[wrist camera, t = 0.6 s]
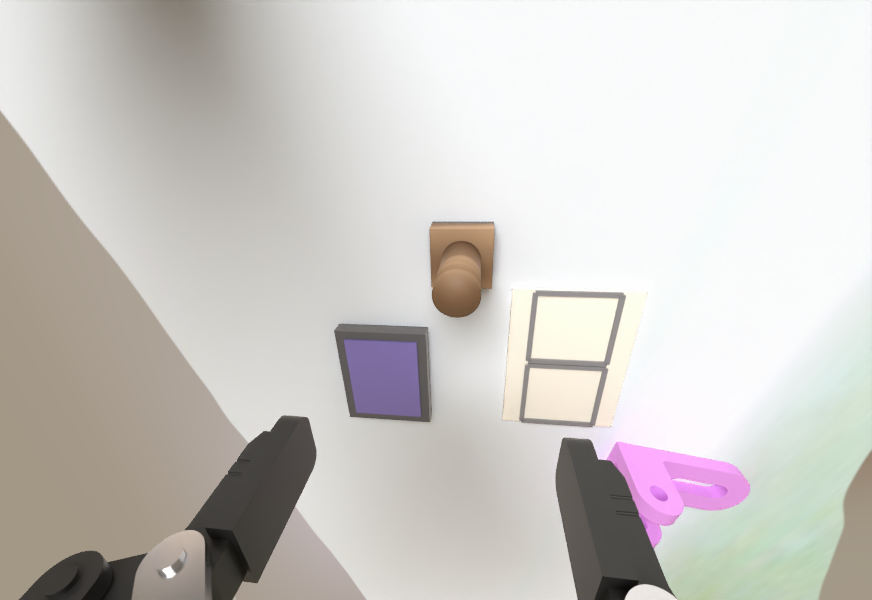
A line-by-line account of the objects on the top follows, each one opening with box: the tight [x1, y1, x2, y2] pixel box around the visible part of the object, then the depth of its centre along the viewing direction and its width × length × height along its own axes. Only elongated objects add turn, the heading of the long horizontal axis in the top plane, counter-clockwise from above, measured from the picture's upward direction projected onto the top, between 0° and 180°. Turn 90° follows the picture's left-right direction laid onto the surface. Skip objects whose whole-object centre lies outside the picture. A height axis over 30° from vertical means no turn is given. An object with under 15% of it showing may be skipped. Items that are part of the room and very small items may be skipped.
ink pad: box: [334, 324, 431, 422], centre depth 33 cm, size 10×8×1 cm
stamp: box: [430, 222, 494, 317], centre depth 24 cm, size 4×4×8 cm
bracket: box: [607, 442, 750, 549], centre depth 32 cm, size 13×6×7 cm, turn 82°
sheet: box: [503, 287, 648, 427], centre depth 30 cm, size 14×10×1 cm
